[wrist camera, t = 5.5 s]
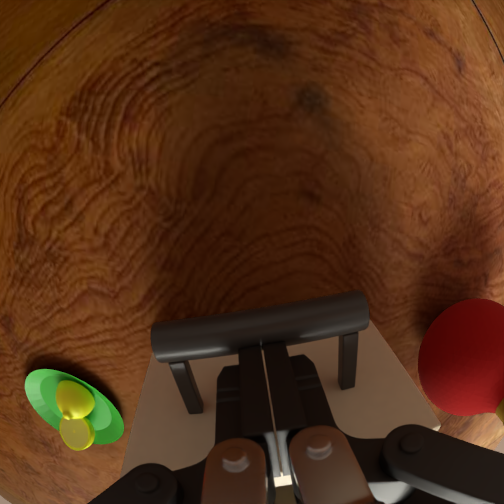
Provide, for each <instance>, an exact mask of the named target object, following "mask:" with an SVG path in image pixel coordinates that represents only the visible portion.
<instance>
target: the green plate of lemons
mask: <svg viewBox="0 0 504 504" xmlns="http://www.w3.org/2000/svg"><path fill="white" fill-rule="evenodd" d="M25 390H26V395H27V397H28V399H29V401H30V403H31V405H32V406H33V408H34V409H35V410H36V411H37V413H38V414H39V415H40V416H41V417H42V418H43V419H44V420H45V421H46V422H47V423H49V424H50V425H51V426H52V427H54V428H55V429H57V430H58V431H60V435H61V437H62V439H63V441H64V443H65V444H66V445H67V446H68V447H70V448H71V449H73V450H78V451H79V450H84V449H86V448H88V447H89V446H90V445H91V444H108V443H112V442H114V441H117V440H118V439H119V438H120V437H121V436H122V434H123V432H124V424H123V420H122V418H121V416H120V414H119V412H118V411H117V409H116V408H115V407H114V405H113V404H112V403H111V402H110V401H109V400H108V399H107V398H106V397H105V396H104V395H102V394H101V393H100V392H99V391H97V390H96V389H95V388H93V387H92V386H90V385H89V384H87V383H86V382H84V381H82V380H80V379H78V378H76V377H74V376H72V375H69V374H67V373H64V372H60V371H56V370H51V369H39V370H35V371H33V372H31V373H30V374H29V375H28V376H27V378H26V381H25Z"/></svg>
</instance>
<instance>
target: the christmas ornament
mask: <svg viewBox="0 0 504 504" xmlns="http://www.w3.org/2000/svg"><path fill="white" fill-rule="evenodd" d="M418 373H419V378H420V382H421V385H422V388H423V390H424V392H425V394H426V395H427V397H428V398H429V399H430V400H431V402H432V403H433V404H435V405H436V406H437V407H438V408H440V409H441V410H443V411H445V412H447V413H450V414H454V415H458V416H471V415H476V414H480V413H485V412H490V413H496V415H497V416H498V417H499V418H500V420H501V421H502V422H503V425H504V306H502V305H501V304H499V303H497V302H494V301H492V300H488V299H481V298H475V299H467V300H463V301H460V302H458V303H456V304H454V305H452V306H450V307H449V308H447V309H446V310H444V311H443V312H442V313H441V314H440V315H439V316H438V317H437V318H436V319H435V320H434V321H433V323H432V324H431V325H430V327H429V328H428V330H427V332H426V334H425V336H424V338H423V340H422V343H421V346H420V351H419V357H418Z"/></svg>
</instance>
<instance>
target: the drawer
mask: <svg viewBox="0 0 504 504" xmlns="http://www.w3.org/2000/svg"><path fill="white" fill-rule="evenodd" d="M279 342H285V343H286V347H287V351H288V354H289V357H290V356H295V355H301V354H304V355H306V356H307V357H308V358H309V359H310V360H311V361H312V362H314V364H315V367H316V370H317V373H318V377H319V378H320V381H321V384H322V387H323V389H324V392H325V395H326V398H327V401H328V403H329V406H330V409H331V412H332V415H333V418H334V420H335V423H336V425H337V426H338V428H339V429H340V430H341V431H343V432H344V433H346V434H347V435H350V436H352V437H356V438H365V439H369V438H386V436H387V435H388V434H389V433H390V432H391V431H392V430H393V429H395V428H397V427H399V426H402V425H406V424H417V425H422V426H425V427H427V428H430V429H432V430H435V431H438V430H439V428H440V426H441V423H440V421H439V420H438V418H437V417H436V415H435V413H434V412H433V410H432V409H431V407H430V406H429V404H428V403H427V401H426V400H425V398H424V396H423V395H422V393H421V392H420V390H419V389H418V387H417V386H416V384H415V383H414V381H413V380H412V378H411V377H410V375H409V374H408V372H407V371H406V370H405V368H404V367H403V365H402V364H401V362H400V361H399V359H398V358H397V356H396V355H395V354H394V352H393V351H392V349H391V348H390V346H389V345H388V344H387V342H386V341H385V339H384V338H383V336H382V335H381V334H380V332H379V331H378V329H377V328H376V327H375V325H374V324H373V322H372V321H371V320H370V315H369V307H368V303H367V300H366V297H365V295H364V294H363V292H362V291H361V290H353V291H348V292H343V293H338V294H333V295H328V296H323V297H318V298H312V299H307V300H301V301H296V302H290V303H285V304H279V305H273V306H267V307H261V308H255V309H248V310H242V311H236V312H229V313H222V314H215V315H208V316H201V317H194V318H186V319H179V320H171V321H162V322H155V323H154V324H153V325H152V328H151V345H152V350H153V352H152V356H151V359H150V362H149V366H148V369H147V373H146V376H145V380H144V383H143V387H142V391H141V394H140V398H139V402H138V405H137V409H136V413H135V417H134V421H133V425H132V428H131V432H130V437H129V441H128V445H127V449H126V453H125V457H124V462H123V466H122V471H121V475H120V478H122V477H123V476H124V475H125V474H127V473H128V472H129V471H130V470H132V469H133V468H134V467H136V466H138V465H141V464H145V463H158V464H161V465H164V466H166V467H168V468H169V469H170V470H171V471H174V470H178V469H181V468H185V467H188V466H191V465H194V464H197V463H198V462H200V461H202V460H203V459H205V458H206V457H207V455H208V453H209V452H210V450H211V449H212V448H213V447H214V444H215V422H216V403H217V402H216V393H217V377H218V375H219V374H220V372H221V370H222V369H223V367H224V366H231V365H238V364H239V359H238V349H240V348H248V347H254V346H261V351H262V357H263V364H264V370H265V376H266V382H267V389H268V395H269V402H270V408H271V415H272V421H273V428H274V434H275V441H276V447H277V453H278V460H279V466H280V473H281V477H275V478H274V482H275V489H276V499H275V504H296V502H295V499H294V492H293V486H292V480H291V475H287V476H283V470H282V464H281V458H280V452H279V446H278V440H277V433H276V427H275V421H274V415H273V409H272V402H271V396H270V390H269V383H268V377H267V371H266V364H265V358H264V351H263V345H267V344H273V343H279Z"/></svg>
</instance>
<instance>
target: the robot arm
mask: <svg viewBox="0 0 504 504" xmlns="http://www.w3.org/2000/svg"><path fill="white" fill-rule="evenodd" d="M263 351H264V358H265V364H266V371H267V377H268V383H269V390H270V396H271V402H272V409H273V415H274V421H275V427H276V433H277V440H278V446H279V452H280V458H281V464H282V470H283V476H287V475H291V480H292V486H293V492H294V499H295V502H296V504H504V454H503V453H499V452H496V451H493V450H490V449H487V448H483V447H480V446H477V445H474V444H471V443H468V442H465V441H463V440H460V439H457V438H454V437H451V436H449V435H446V434H443V433H440V432H438V431H435V430H432V429H430V428H427V427H425V426H422V425H417V424H406V425H402V426H399V427H397V428H395V429H393V430H392V431H391V432H390V433H389V434H388V435H387V436H386V438H369V439H365V438H356V437H352V436H350V435H347V434H346V433H344V432H343V431H341V430H340V429H339V428H338V426H337V425H336V423H335V420H334V418H333V415H332V412H331V409H330V406H329V403H328V401H327V398H326V395H325V392H324V389H323V387H322V384H321V381H320V378H319V377H318V373H317V370H316V367H315V364H314V362H312V361H311V360H310V359H309V358H308V357H307V356H306V355H304V354H301V355H295V356H290V357H289V354H288V351H287V347H286V343H285V342H279V343H273V344H267V345H263ZM238 359H239V364H238V365H231V366H224V367H223V369H222V370H221V372H220V374H219V375H218V377H217V393H216V402H217V403H216V422H215V444H214V447H213V448H212V449H211V450H210V452H209V453H208V455H207V457H206V458H205V459H203V460H202V461H200V462H198V463H197V464H194V465H191V466H188V467H185V468H181V469H178V470H174V471H171V470H170V469H169V468H168V467H166V466H164V465H161V464H158V463H145V464H141V465H138V466H136V467H134V468H133V469H132V470H130V471H129V472H128V473H127V474H125V475H124V476H123V477H122V478H120V479H119V480H118V481H116V482H115V483H114V484H113V485H111V486H110V487H109V488H107V489H106V490H105V491H104V492H102V493H101V494H100V495H98V496H97V497H96V498H94V499H93V500H92V501H90V502H89V503H88V504H275V499H276V489H275V482H274V478H275V477H281V473H280V466H279V460H278V453H277V447H276V441H275V434H274V428H273V421H272V415H271V408H270V402H269V395H268V389H267V382H266V376H265V370H264V364H263V357H262V351H261V346H254V347H248V348H240V349H238Z"/></svg>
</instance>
